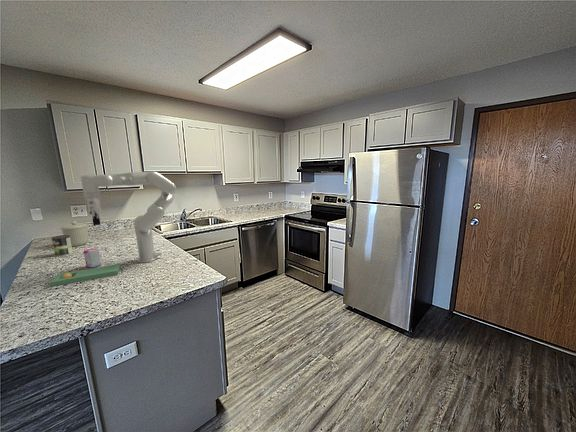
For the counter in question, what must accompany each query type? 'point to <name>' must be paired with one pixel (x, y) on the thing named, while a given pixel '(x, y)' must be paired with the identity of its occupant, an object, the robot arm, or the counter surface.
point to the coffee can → (62, 245)
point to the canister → (76, 233)
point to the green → (86, 275)
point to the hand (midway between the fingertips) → (97, 224)
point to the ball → (67, 275)
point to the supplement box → (92, 258)
